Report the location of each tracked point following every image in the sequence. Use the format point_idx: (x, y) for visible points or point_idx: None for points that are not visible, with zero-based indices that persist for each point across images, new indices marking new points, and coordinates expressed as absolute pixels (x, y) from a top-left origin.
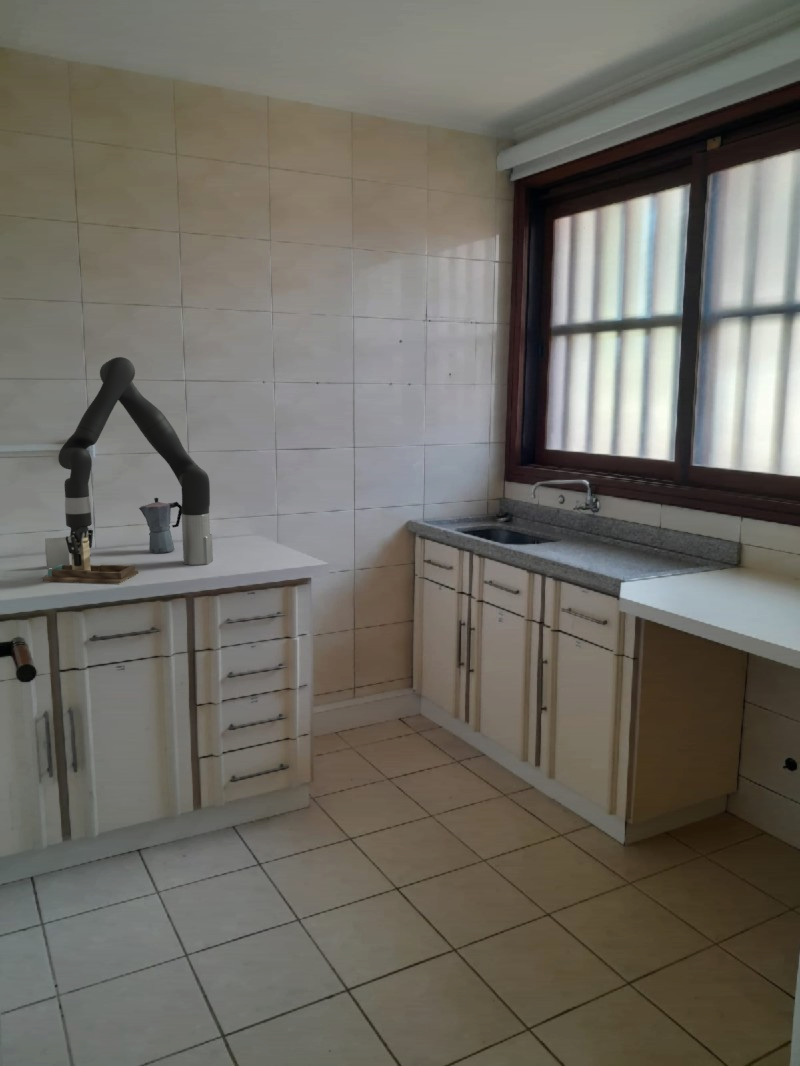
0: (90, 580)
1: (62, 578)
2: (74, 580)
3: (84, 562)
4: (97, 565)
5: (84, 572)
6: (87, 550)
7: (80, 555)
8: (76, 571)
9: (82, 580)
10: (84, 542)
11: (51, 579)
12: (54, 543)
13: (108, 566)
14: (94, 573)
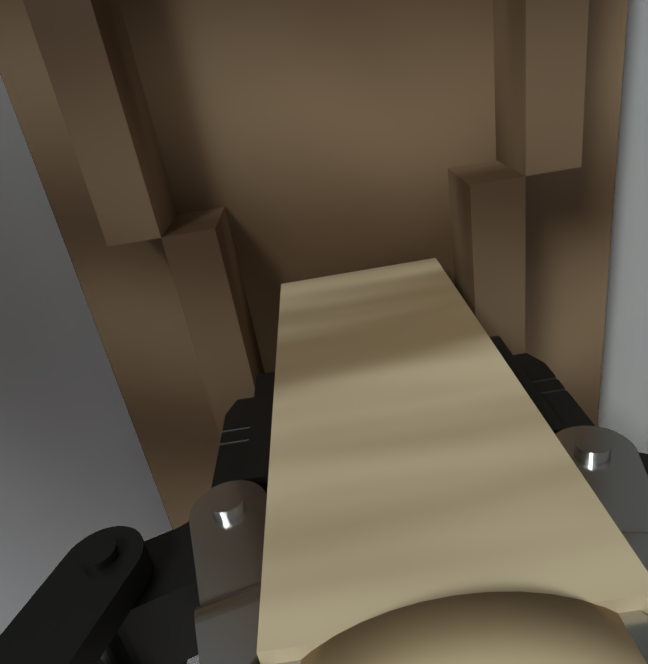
0: (620, 46)
1: (575, 394)
2: (602, 255)
3: (467, 321)
4: (171, 271)
5: (518, 226)
6: (359, 448)
7: (547, 421)
8: (521, 330)
9: (612, 158)
10: (574, 605)
11: None
12: None
13: (123, 95)
14: (577, 32)
